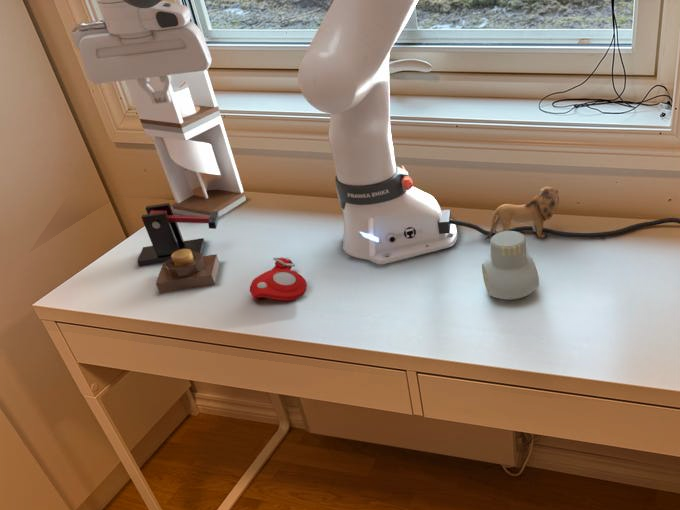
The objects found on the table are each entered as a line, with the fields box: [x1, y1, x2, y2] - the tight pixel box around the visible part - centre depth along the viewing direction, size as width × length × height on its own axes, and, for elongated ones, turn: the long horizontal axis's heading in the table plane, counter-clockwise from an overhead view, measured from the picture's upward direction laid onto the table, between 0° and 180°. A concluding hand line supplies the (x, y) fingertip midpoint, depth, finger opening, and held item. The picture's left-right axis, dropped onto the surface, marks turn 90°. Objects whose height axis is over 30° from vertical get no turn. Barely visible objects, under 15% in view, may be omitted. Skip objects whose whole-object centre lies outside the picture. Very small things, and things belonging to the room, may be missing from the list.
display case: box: [125, 70, 247, 218], centre depth 146 cm, size 11×11×35 cm
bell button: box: [171, 249, 194, 266], centre depth 129 cm, size 4×4×2 cm
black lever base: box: [136, 202, 206, 267], centre depth 137 cm, size 12×6×10 cm, turn 101°
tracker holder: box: [249, 256, 308, 302], centre depth 125 cm, size 12×4×10 cm
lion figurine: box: [485, 185, 560, 240], centre depth 133 cm, size 15×5×9 cm, turn 103°
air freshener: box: [481, 230, 540, 301], centre depth 117 cm, size 11×8×10 cm
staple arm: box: [150, 210, 220, 230], centre depth 136 cm, size 12×5×2 cm, turn 101°
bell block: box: [155, 251, 221, 294], centre depth 130 cm, size 10×8×4 cm
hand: (162, 102), depth 123 cm, fingers closed
